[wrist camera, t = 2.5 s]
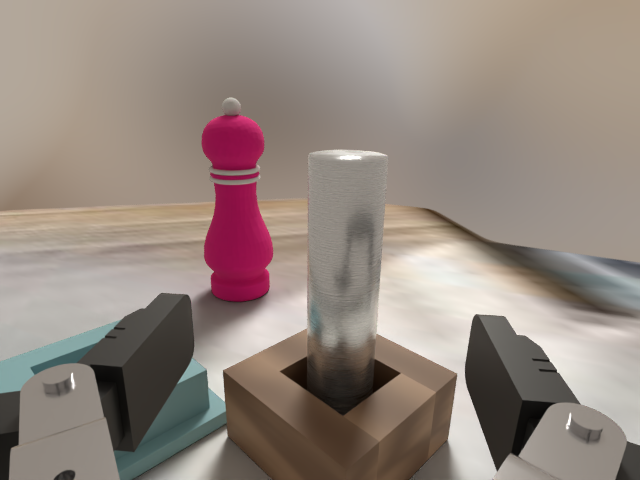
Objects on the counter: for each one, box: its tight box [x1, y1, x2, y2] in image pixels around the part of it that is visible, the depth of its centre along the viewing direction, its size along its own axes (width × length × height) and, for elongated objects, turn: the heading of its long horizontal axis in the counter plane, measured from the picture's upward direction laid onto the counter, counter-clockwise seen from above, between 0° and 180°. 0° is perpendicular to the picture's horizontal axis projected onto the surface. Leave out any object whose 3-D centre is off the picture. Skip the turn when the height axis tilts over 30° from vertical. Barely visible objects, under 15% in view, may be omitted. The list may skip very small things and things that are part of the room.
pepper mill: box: [202, 98, 273, 302], centre depth 45 cm, size 7×7×20 cm
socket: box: [0, 320, 227, 480], centre depth 29 cm, size 12×12×4 cm
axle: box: [307, 150, 388, 416], centre depth 25 cm, size 4×4×18 cm
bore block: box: [223, 329, 457, 480], centre depth 27 cm, size 10×10×5 cm
